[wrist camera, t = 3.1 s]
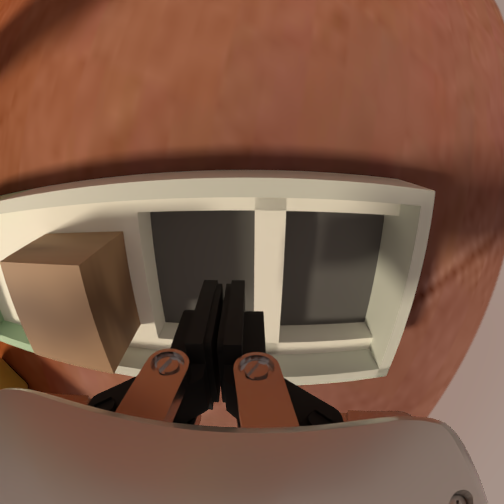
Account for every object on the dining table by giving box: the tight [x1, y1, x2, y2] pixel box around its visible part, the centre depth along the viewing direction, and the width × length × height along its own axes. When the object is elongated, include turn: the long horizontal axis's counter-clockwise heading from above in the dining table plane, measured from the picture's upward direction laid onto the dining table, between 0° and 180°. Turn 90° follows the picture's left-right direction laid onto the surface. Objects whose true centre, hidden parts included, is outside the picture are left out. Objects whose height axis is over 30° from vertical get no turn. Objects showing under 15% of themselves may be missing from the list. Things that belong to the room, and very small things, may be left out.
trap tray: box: [0, 170, 435, 385], centre depth 15 cm, size 12×32×4 cm, turn 90°
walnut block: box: [0, 231, 141, 374], centre depth 13 cm, size 6×6×4 cm
